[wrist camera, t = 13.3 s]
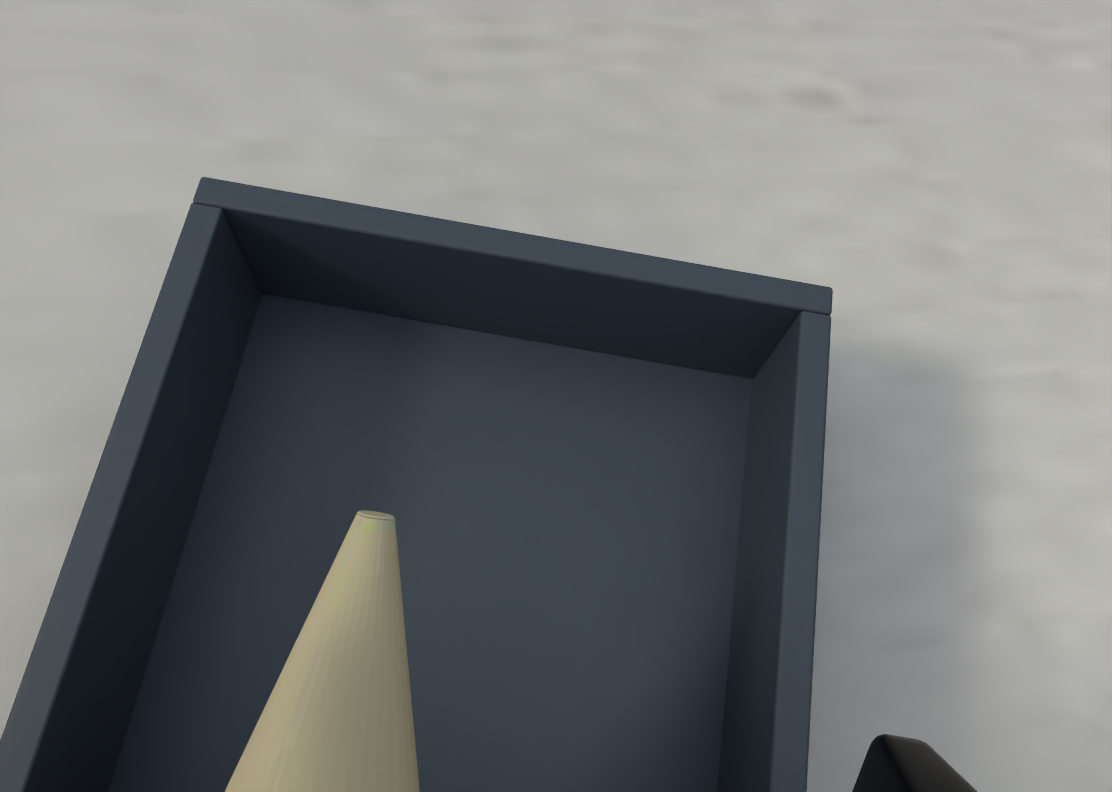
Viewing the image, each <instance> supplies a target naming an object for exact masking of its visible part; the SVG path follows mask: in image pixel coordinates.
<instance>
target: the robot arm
mask: <svg viewBox="0 0 1112 792" xmlns="http://www.w3.org/2000/svg"><path fill="white" fill-rule="evenodd" d="M853 792H977V791H976V790H975V789H974V788H973V787H972V786H971V785H970V784H969V783H968V782H967V781H966V780H965V779H964V778H963V777H962V776H961V775H959V774H958V773H957V772H956V771H955V770H954V769H953V768H952V767H951V766H950V765H949V764H948V763H947V762H946V761H945V760H944V759H943V758H942V757H941V756H940V755H939V754H938V753H937V752H935V751H934V750H933V749H932V748H931V747H930V746H929V745H928V744H926V743H925V742H923V741H921V740H917V739H912V738H906V737H900V736H894V735H888V734H882V735H879V736H877V737H876V738H875V739H874V740H873V741H872V743H871V745H870V747H869V749H868V752H867V755H866V757H865V760H864V763H863V765H862V768H861V770H860V773H859V776H858V778H857V781H856V784H855V786H854V789H853Z"/></svg>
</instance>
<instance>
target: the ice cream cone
mask: <svg viewBox="0 0 1112 792" xmlns="http://www.w3.org/2000/svg"><path fill="white" fill-rule="evenodd" d="M225 792H420V789H419V778H418V767H417V756H416V745H415V734H414V723H413V712H412V701H411V690H410V679H409V668H408V657H407V646H406V635H405V624H404V612H403V601H402V590H401V579H400V568H399V557H398V546H397V535H396V524H395V517H394V516H392V515H390V514H386V513H381V512H375V511H366V510H361V511H358V512H357V513H356V516H355V518H354V520H353V522H352V524H351V527H350V529H349V531H348V533H347V535H346V537H345V539H344V541H343V543H342V545H341V548H340V550H339V552H338V554H337V556H336V558H335V560H334V562H333V564H332V567H331V569H330V571H329V573H328V575H327V577H326V579H325V581H324V583H323V586H322V588H321V590H320V592H319V594H318V596H317V598H316V600H315V602H314V604H313V607H312V609H311V611H310V613H309V615H308V617H307V619H306V621H305V623H304V626H303V628H302V630H301V632H300V634H299V636H298V638H297V640H296V642H295V645H294V647H293V649H292V651H291V653H290V655H289V657H288V659H287V661H286V663H285V666H284V668H283V670H282V672H281V674H280V676H279V678H278V680H277V682H276V685H275V687H274V689H273V691H272V693H271V695H270V697H269V699H268V701H267V704H266V706H265V708H264V710H263V712H262V714H261V716H260V718H259V720H258V722H257V725H256V727H255V729H254V731H253V733H252V735H251V737H250V739H249V741H248V744H247V746H246V748H245V750H244V752H243V754H242V756H241V758H240V760H239V762H238V765H237V767H236V769H235V771H234V773H233V775H232V777H231V779H230V781H229V784H228V786H227V788H226V790H225Z"/></svg>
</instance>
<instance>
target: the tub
mask: <svg viewBox="0 0 1112 792" xmlns="http://www.w3.org/2000/svg"><path fill="white" fill-rule="evenodd" d="M832 293H833V291H832V288H830V287H825V286H819V285H813V284H808V283H802V282H796V281H791V280H785V279H779V278H774V277H768V276H762V275H757V274H751V273H745V272H740V271H734V270H728V269H723V268H717V267H711V266H705V265H700V264H694V263H688V262H683V261H677V260H671V259H666V258H660V257H654V256H649V255H643V254H637V253H632V252H626V251H620V250H615V249H609V248H603V247H598V246H592V245H586V244H581V243H575V242H569V241H564V240H558V239H552V238H547V237H541V236H535V235H530V234H524V233H518V232H513V231H507V230H501V229H496V228H490V227H484V226H479V225H473V224H467V223H462V222H456V221H450V220H445V219H439V218H433V217H428V216H422V215H416V214H411V213H405V212H399V211H394V210H388V209H382V208H377V207H371V206H365V205H360V204H354V203H348V202H342V201H337V200H331V199H325V198H320V197H314V196H308V195H303V194H297V193H291V192H286V191H280V190H274V189H269V188H263V187H257V186H252V185H246V184H240V183H235V182H229V181H223V180H218V179H212V178H206V177H202V178H201V179H200V182H199V185H198V188H197V191H196V193H195V196H194V199H193V203H192V204H191V206H190V209H189V212H188V215H187V218H186V220H185V223H184V226H183V229H182V232H181V234H180V237H179V240H178V243H177V246H176V248H175V251H174V254H173V257H172V260H171V262H170V265H169V268H168V271H167V274H166V277H165V279H164V282H163V285H162V288H161V291H160V293H159V296H158V299H157V302H156V305H155V307H154V310H153V313H152V316H151V319H150V322H149V324H148V327H147V330H146V333H145V336H144V338H143V341H142V344H141V347H140V350H139V352H138V355H137V358H136V361H135V364H134V367H133V369H132V372H131V375H130V378H129V381H128V383H127V386H126V389H125V392H124V395H123V397H122V400H121V403H120V406H119V409H118V412H117V414H116V417H115V420H114V423H113V426H112V428H111V431H110V434H109V437H108V440H107V442H106V445H105V448H104V451H103V454H102V457H101V459H100V462H99V465H98V468H97V471H96V473H95V476H94V479H93V482H92V485H91V487H90V490H89V493H88V496H87V499H86V501H85V504H84V507H83V510H82V513H81V516H80V518H79V521H78V524H77V527H76V530H75V532H74V535H73V538H72V541H71V544H70V546H69V549H68V552H67V555H66V558H65V561H64V563H63V566H62V569H61V572H60V575H59V577H58V580H57V583H56V586H55V589H54V591H53V594H52V597H51V600H50V603H49V606H48V608H47V611H46V614H45V617H44V620H43V622H42V625H41V628H40V631H39V634H38V636H37V639H36V642H35V645H34V648H33V651H32V653H31V656H30V659H29V662H28V665H27V667H26V670H25V673H24V676H23V679H22V681H21V684H20V687H19V690H18V693H17V695H16V698H15V701H14V704H13V707H12V710H11V712H10V715H9V718H8V721H7V724H6V726H5V729H4V732H3V735H2V738H1V740H0V792H225V790H226V788H227V786H228V784H229V781H230V779H231V777H232V775H233V773H234V771H235V769H236V767H237V765H238V762H239V760H240V758H241V756H242V754H243V752H244V750H245V748H246V746H247V744H248V741H249V739H250V737H251V735H252V733H253V731H254V729H255V727H256V725H257V722H258V720H259V718H260V716H261V714H262V712H263V710H264V708H265V706H266V704H267V701H268V699H269V697H270V695H271V693H272V691H273V689H274V687H275V685H276V682H277V680H278V678H279V676H280V674H281V672H282V670H283V668H284V666H285V663H286V661H287V659H288V657H289V655H290V653H291V651H292V649H293V647H294V645H295V642H296V640H297V638H298V636H299V634H300V632H301V630H302V628H303V626H304V623H305V621H306V619H307V617H308V615H309V613H310V611H311V609H312V607H313V604H314V602H315V600H316V598H317V596H318V594H319V592H320V590H321V588H322V586H323V583H324V581H325V579H326V577H327V575H328V573H329V571H330V569H331V567H332V564H333V562H334V560H335V558H336V556H337V554H338V552H339V550H340V548H341V545H342V543H343V541H344V539H345V537H346V535H347V533H348V531H349V529H350V527H351V524H352V522H353V520H354V518H355V516H356V513H357V512H358V511H361V510H366V511H375V512H381V513H386V514H390V515H392V516H394V517H395V524H396V535H397V546H398V557H399V568H400V579H401V590H402V601H403V612H404V624H405V635H406V646H407V657H408V668H409V679H410V690H411V701H412V712H413V723H414V734H415V745H416V756H417V767H418V778H419V789H420V792H806V789H807V770H808V751H809V732H810V713H811V694H812V674H813V655H814V636H815V617H816V598H817V579H818V560H819V541H820V522H821V502H822V483H823V464H824V445H825V426H826V407H827V388H828V369H829V350H830V330H831V317H830V314H831V312H832Z"/></svg>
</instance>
